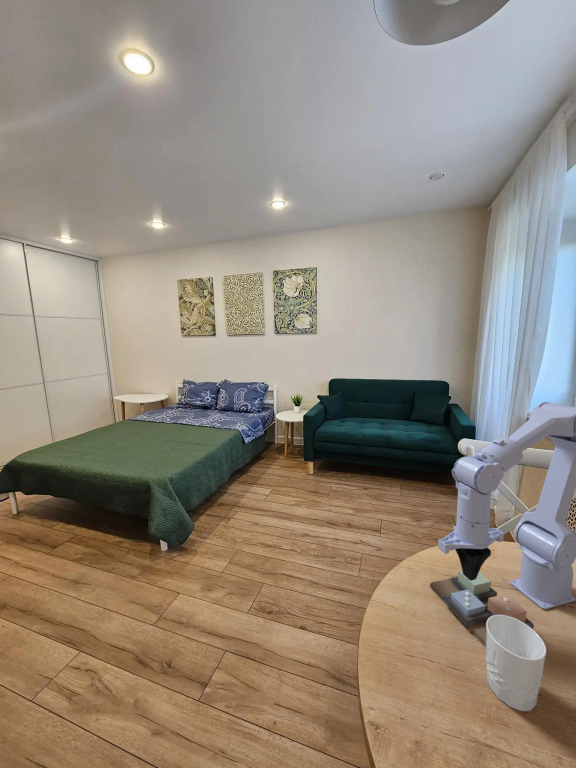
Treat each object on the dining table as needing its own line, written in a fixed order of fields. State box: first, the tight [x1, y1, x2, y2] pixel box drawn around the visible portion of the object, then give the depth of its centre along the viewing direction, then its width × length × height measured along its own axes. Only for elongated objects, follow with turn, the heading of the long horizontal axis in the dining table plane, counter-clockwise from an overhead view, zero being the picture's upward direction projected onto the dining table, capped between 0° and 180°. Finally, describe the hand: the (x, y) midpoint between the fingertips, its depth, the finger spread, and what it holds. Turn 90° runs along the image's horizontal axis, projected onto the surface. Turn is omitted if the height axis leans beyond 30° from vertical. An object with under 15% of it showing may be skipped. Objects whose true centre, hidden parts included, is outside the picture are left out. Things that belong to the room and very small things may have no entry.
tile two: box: [488, 593, 527, 623], centre depth 62 cm, size 4×4×3 cm
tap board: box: [429, 576, 535, 648], centre depth 66 cm, size 12×17×2 cm
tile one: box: [457, 569, 492, 596], centre depth 70 cm, size 4×4×3 cm
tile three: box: [450, 589, 485, 617], centre depth 65 cm, size 4×4×3 cm
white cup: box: [485, 615, 547, 712], centre depth 50 cm, size 8×8×10 cm
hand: (469, 576), depth 64 cm, fingers closed
